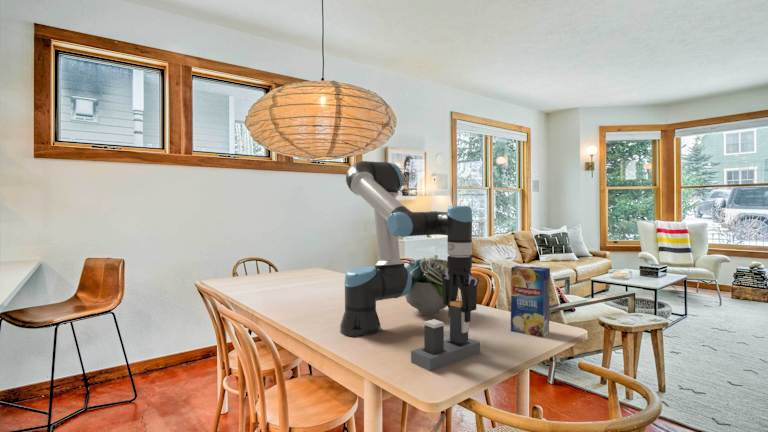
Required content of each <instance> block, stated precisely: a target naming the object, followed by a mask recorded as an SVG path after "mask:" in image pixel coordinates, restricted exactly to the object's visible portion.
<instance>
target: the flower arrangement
mask: <svg viewBox="0 0 768 432" xmlns="http://www.w3.org/2000/svg"><path fill="white" fill-rule="evenodd" d="M406 268H408V269H409V272H410V273H411V276H412V284H411V288H410V290H409V291H408V293H407V294H406V295H405V296H404V297H405V299H406V302H407V303H408V304H409V305H410V306H411V307H412V308H415V309H417V311H418V314H420V315H422V316H437V315H438V314H440V311H441V310H443V309H445V308H448V306H447V305H444V304H443V280H442V277H441V274H444V273H448V270H449V268H448V267H447V260H446V259H444V260H443V259H440V258H439V259H438V258H437V259H436V258H434V257H429V258H428V257H427V258H425V257H424V258H421V259H416V260H415V261H412V260H409V262H408V265H407V266H406ZM450 280H451V279H450Z"/></svg>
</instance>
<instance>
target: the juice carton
mask: <svg viewBox="0 0 768 432" xmlns="http://www.w3.org/2000/svg"><path fill="white" fill-rule="evenodd" d="M510 270H511V271H510V272H511V277H510V278H511V279H510V281H511V282H510V332H513V333H517V334H524V335H527V336H528V335H529V336H533V337H538V338H544V337H546V336H547V335H548V333H550V292H551V291H550V283H551V281H550V280H551V277H550V275H551V268H550V267H542V266H530V265H522V264H521V265H520V264H517V265H514V266H512V267H511V269H510Z"/></svg>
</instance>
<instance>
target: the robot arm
mask: <svg viewBox="0 0 768 432" xmlns="http://www.w3.org/2000/svg"><path fill="white" fill-rule="evenodd" d="M346 171H347V172H346V175H345V183H346V185H347V187H348V189H349V190H350V191H351V192H352V193H353V194H354V195H356V196H360V197H361V198H362V199H363V200H365V202H366V203H367V204H369V205H370V206H371V207H372V208H373V209H374V223H375V235H376V236H375V237H376V247H377V262H376V263H374V266H359V267H354V268H351V269H350V270H348V271H346V273H345V276H344V312H343V315H342V319H341V323H340V325H339V326H340V329H339V330H340V332H339V333H341V334H342V335H345V336H347V337H356V338H361V337H364V336H371V335H374V334H377V333H381V331H382V330H381V329H382V328H381V327H382V326H381V325H382V324H381V321H380V318H379V315H378V312H377V301H384V300H389V299H399V298H401V297H402V298H403V297H405V295H406V294H407V293H408V291H409V290H410V288H411V284H412V276H411V273H410V272H409V269H408V268H406V267H407V266H406V267H405V262H404V261H403V260H402V259H401V256H400V255H401V254H400V243H399V237H400V238H405V237H406V238H407V237H415V236H417V237H418V236H436V235H439V236H440V235H441V236H447V238H446V239H447V240H446V241H447V254H448V256H447V258H446V259H447V260H446V261H447V267H448V268H449V270H448V273H444V274H441V277H442V280H443V304H444V305H447V308H448V312H447V313H448V318H450V302H452V301H456V300H457V297H458V292H459V291H460V296H461V301H462V304H463V310H462V312H461V333H466V332H468V333H469V332H470V322H471V321H472V320H471V319H472V317H471V312H473V311H476V310H477V303H478V301H477V300H478V299H477V298H478V297H477V296H478V284H479V282H480V279H479V278H478V277H477V278H475V277H474V276H473V275H472V272H471V270H472V268H473V258H472V255H473V220H474V219H473V213H472V212H473V211H472V207H470V206H469V205H450V206H449V205H448V207H447V210H446V211H436V210H435V211H433V210H432V211H411V210H410V209H409V208H407V207H406V206H405V205H404V204H403V203H401V202H400V201H399V200H398V199H397V197H398V195H399V191H400V190H401V189H402V188H403V184H404V175H403V172H402V170H401V169H400V167H399V166H398V165H397V164H396V163H391V162H387V161H369V160H361V161H357V162H354V163H353V164H352V165H351V166H349V168H348V169H347V170H346ZM450 279H451V280H450Z"/></svg>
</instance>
